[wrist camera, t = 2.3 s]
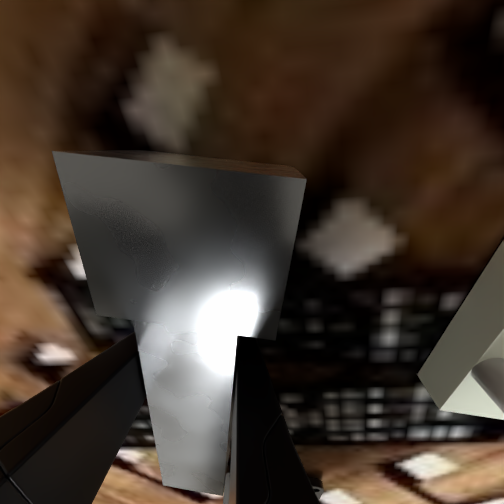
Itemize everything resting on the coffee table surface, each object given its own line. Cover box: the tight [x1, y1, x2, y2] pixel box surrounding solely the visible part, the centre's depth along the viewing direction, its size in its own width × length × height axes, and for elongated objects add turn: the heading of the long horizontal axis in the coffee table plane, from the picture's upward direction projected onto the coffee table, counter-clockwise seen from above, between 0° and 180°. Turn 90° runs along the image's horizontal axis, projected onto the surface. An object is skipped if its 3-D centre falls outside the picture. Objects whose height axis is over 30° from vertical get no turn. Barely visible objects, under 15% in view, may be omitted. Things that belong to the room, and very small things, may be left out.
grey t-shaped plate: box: [52, 150, 307, 496], centre depth 8 cm, size 14×5×3 cm, turn 175°
